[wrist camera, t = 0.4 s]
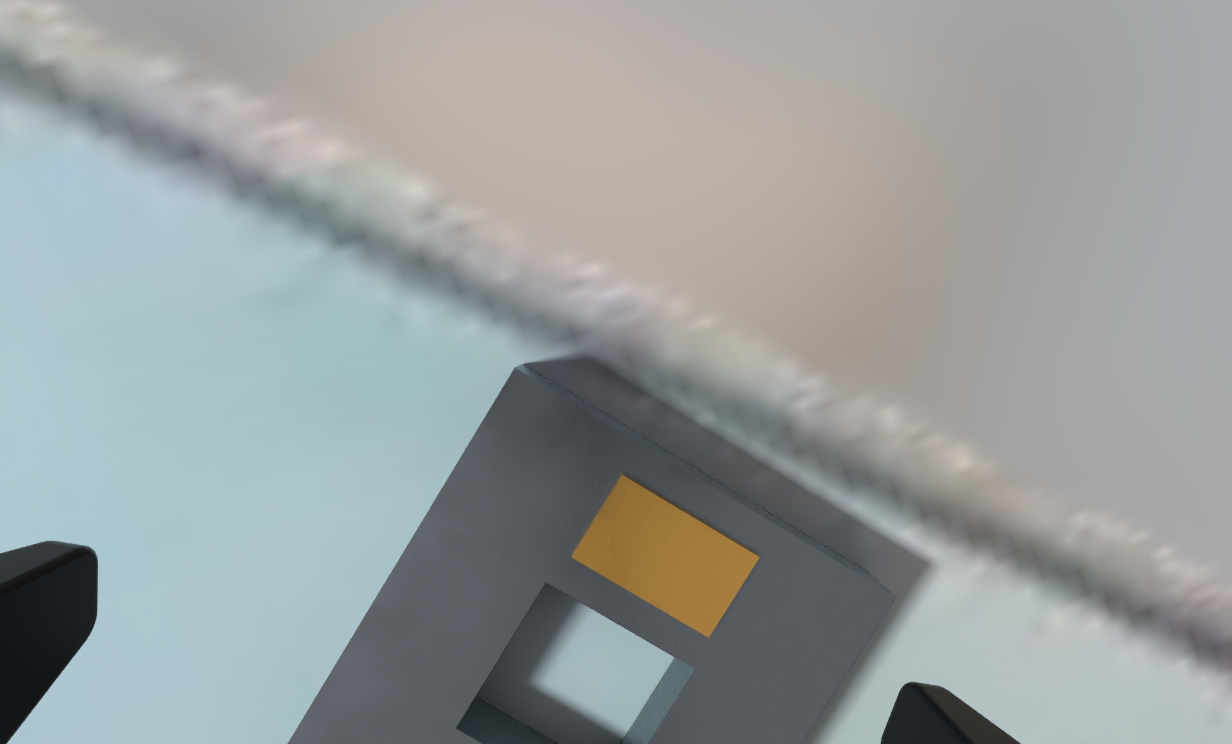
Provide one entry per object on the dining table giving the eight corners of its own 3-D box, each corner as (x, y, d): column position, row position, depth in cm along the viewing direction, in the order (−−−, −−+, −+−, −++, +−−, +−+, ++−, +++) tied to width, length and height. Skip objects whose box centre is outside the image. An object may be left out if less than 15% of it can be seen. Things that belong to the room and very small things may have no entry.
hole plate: (628, 948, 24) (632, 1012, 21) (283, 759, 23) (249, 805, 21) (869, 573, 23) (899, 599, 21) (522, 363, 22) (514, 368, 20)
